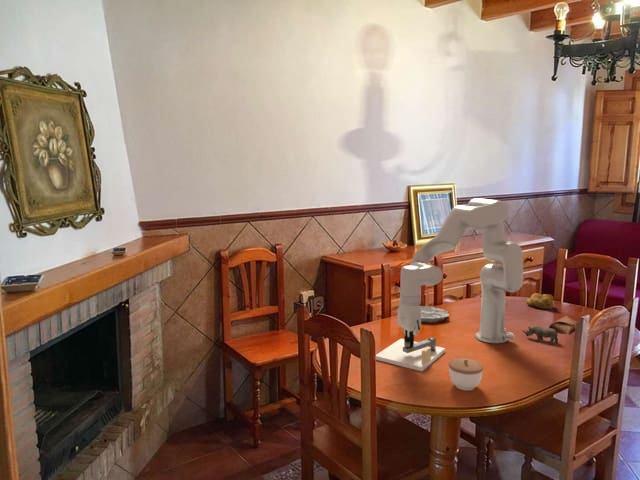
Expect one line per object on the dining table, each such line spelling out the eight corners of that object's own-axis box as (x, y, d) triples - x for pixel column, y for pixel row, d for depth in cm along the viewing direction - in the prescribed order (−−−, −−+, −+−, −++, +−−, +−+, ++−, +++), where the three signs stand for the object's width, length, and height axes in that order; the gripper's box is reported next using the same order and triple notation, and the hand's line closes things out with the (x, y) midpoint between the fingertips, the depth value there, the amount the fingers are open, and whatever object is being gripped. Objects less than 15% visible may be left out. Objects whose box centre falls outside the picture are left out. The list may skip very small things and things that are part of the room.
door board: (445, 351, 196) (445, 337, 195) (422, 371, 178) (422, 355, 177) (400, 341, 207) (401, 328, 206) (374, 359, 189) (375, 344, 188)
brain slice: (450, 326, 227) (450, 319, 226) (411, 323, 230) (412, 317, 230) (448, 313, 246) (448, 307, 245) (412, 311, 249) (413, 305, 249)
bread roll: (524, 306, 255) (524, 291, 253) (530, 302, 262) (531, 287, 261) (550, 311, 246) (552, 295, 245) (556, 307, 254) (557, 291, 253)
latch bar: (431, 347, 196) (431, 332, 195) (437, 349, 193) (437, 334, 192) (401, 357, 186) (402, 341, 186) (407, 359, 184) (408, 344, 183)
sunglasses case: (569, 335, 213) (561, 320, 215) (553, 339, 218) (546, 325, 220) (583, 325, 226) (575, 311, 228) (568, 329, 231) (561, 316, 232)
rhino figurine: (523, 335, 214) (524, 322, 213) (558, 342, 206) (559, 328, 205) (521, 338, 210) (522, 324, 209) (556, 345, 203) (557, 331, 202)
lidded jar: (476, 396, 159) (478, 368, 158) (443, 388, 165) (444, 361, 163) (485, 384, 168) (486, 357, 167) (453, 376, 174) (454, 351, 172)
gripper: (391, 294, 193) (390, 340, 195) (412, 305, 179) (410, 354, 182) (408, 293, 195) (407, 338, 198) (430, 303, 181) (428, 351, 184)
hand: (409, 345), depth 190 cm, fingers closed
